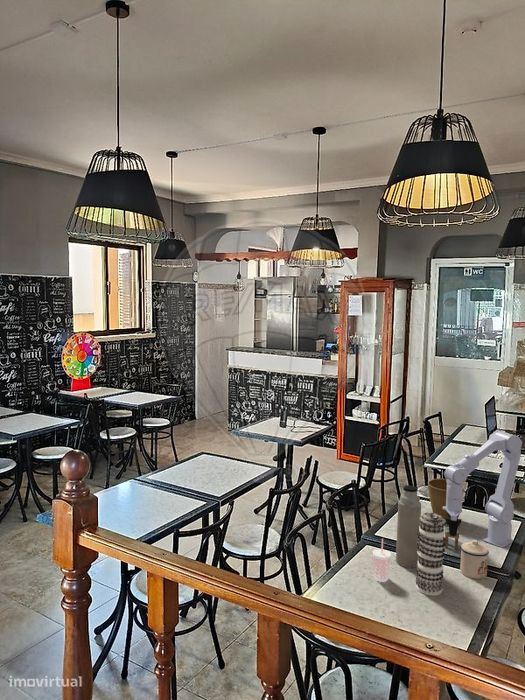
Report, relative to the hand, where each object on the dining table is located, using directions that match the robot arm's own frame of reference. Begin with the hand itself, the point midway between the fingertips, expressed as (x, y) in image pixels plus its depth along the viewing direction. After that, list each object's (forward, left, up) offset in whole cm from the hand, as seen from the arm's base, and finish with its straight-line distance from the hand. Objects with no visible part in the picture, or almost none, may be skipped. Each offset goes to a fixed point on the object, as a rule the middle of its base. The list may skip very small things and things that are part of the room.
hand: (452, 531), depth 206 cm
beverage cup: (+41, -3, -7) cm, 42 cm away
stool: (0, 0, -6) cm, 6 cm away
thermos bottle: (+24, -4, -7) cm, 25 cm away
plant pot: (-22, -16, -7) cm, 28 cm away
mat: (0, 0, -6) cm, 6 cm away
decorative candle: (+34, +11, -7) cm, 36 cm away
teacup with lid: (+11, +15, -7) cm, 20 cm away
